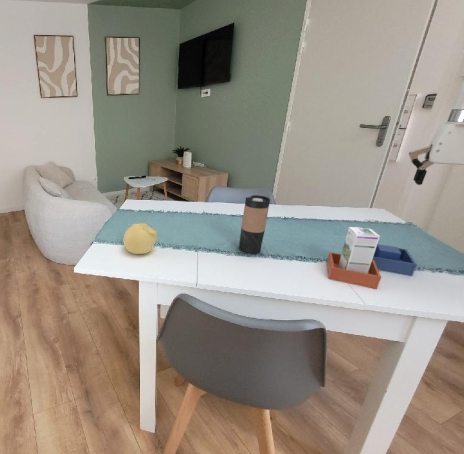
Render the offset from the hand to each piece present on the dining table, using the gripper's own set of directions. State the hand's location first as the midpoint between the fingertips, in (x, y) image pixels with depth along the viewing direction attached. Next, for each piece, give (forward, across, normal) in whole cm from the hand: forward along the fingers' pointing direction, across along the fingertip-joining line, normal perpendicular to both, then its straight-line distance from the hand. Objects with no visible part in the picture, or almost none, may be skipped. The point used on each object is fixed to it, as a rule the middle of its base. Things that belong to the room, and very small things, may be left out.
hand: (443, 185), depth 78 cm
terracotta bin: (+28, +14, +7) cm, 32 cm away
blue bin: (+28, +4, -6) cm, 29 cm away
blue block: (+28, +4, -6) cm, 29 cm away
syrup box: (+28, +14, +7) cm, 32 cm away
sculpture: (+28, +79, +22) cm, 87 cm away
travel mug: (+28, +43, +3) cm, 52 cm away
